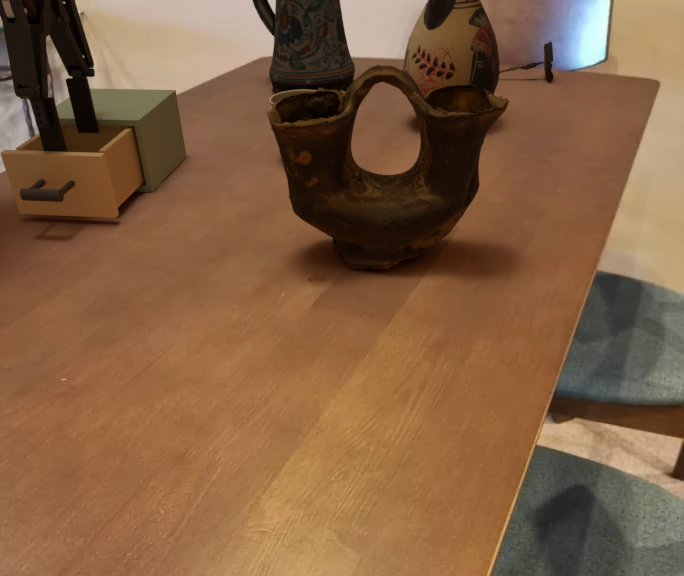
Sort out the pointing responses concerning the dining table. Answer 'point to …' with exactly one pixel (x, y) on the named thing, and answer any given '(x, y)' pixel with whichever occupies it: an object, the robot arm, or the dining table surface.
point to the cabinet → (141, 126)
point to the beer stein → (307, 45)
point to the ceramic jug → (453, 47)
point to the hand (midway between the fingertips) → (73, 142)
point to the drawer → (76, 173)
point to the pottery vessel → (376, 189)
